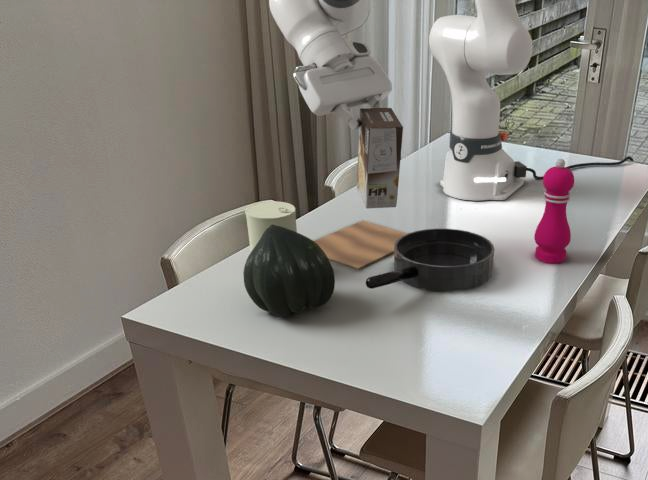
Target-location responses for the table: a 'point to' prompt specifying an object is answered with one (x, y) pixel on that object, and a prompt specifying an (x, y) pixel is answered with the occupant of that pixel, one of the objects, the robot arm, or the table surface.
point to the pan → (445, 259)
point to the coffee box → (379, 157)
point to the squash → (288, 272)
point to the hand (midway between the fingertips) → (370, 123)
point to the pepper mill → (554, 215)
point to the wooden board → (359, 244)
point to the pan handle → (391, 277)
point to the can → (268, 218)
